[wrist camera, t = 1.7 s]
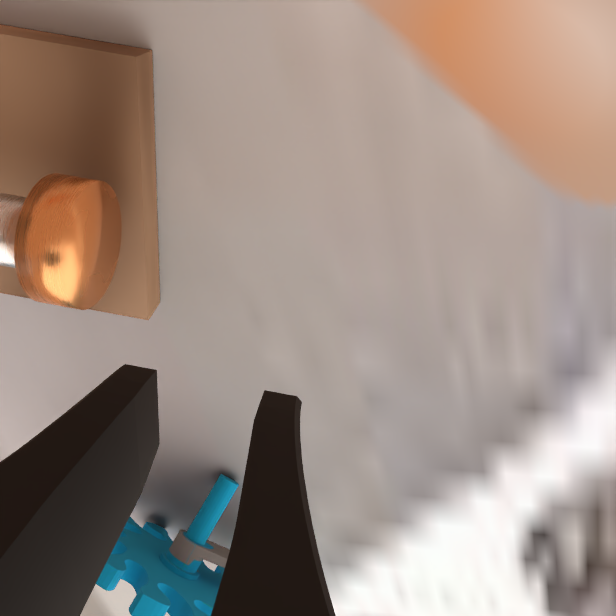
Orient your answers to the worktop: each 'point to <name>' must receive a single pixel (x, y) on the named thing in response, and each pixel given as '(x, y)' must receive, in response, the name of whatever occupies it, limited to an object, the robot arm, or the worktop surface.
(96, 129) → the bearing stand
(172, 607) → the gear
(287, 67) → the worktop surface
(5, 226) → the shaft
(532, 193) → the worktop surface
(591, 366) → the worktop surface
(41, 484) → the robot arm
